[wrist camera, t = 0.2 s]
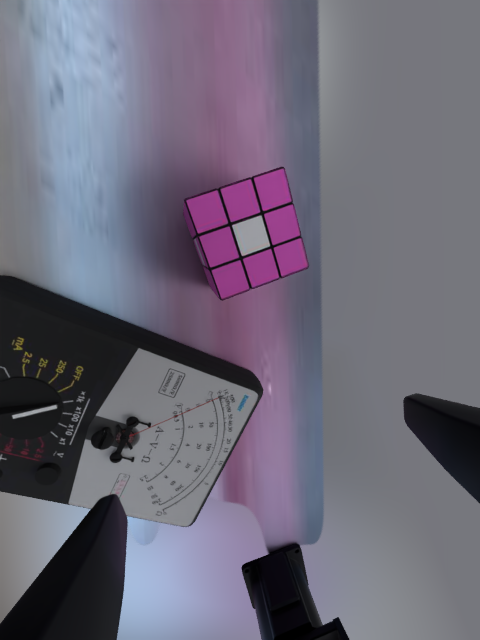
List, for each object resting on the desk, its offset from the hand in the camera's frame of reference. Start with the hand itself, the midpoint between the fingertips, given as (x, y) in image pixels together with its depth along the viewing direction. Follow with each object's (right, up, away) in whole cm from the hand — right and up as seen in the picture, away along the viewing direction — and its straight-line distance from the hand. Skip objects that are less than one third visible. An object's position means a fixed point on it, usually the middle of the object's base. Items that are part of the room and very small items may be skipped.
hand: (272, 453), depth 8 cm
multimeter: (-11, -2, +14) cm, 18 cm away
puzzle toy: (-1, +10, +13) cm, 16 cm away
